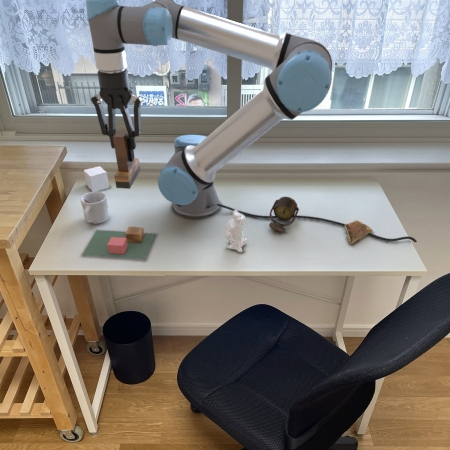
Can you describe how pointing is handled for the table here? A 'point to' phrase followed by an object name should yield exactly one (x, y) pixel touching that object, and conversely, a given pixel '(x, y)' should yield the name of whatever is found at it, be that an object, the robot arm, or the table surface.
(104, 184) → the white cube
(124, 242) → the eraser block
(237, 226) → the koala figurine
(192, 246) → the table surface
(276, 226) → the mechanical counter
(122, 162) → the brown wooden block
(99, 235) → the desk mat
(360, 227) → the shard
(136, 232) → the cork block
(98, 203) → the cup
